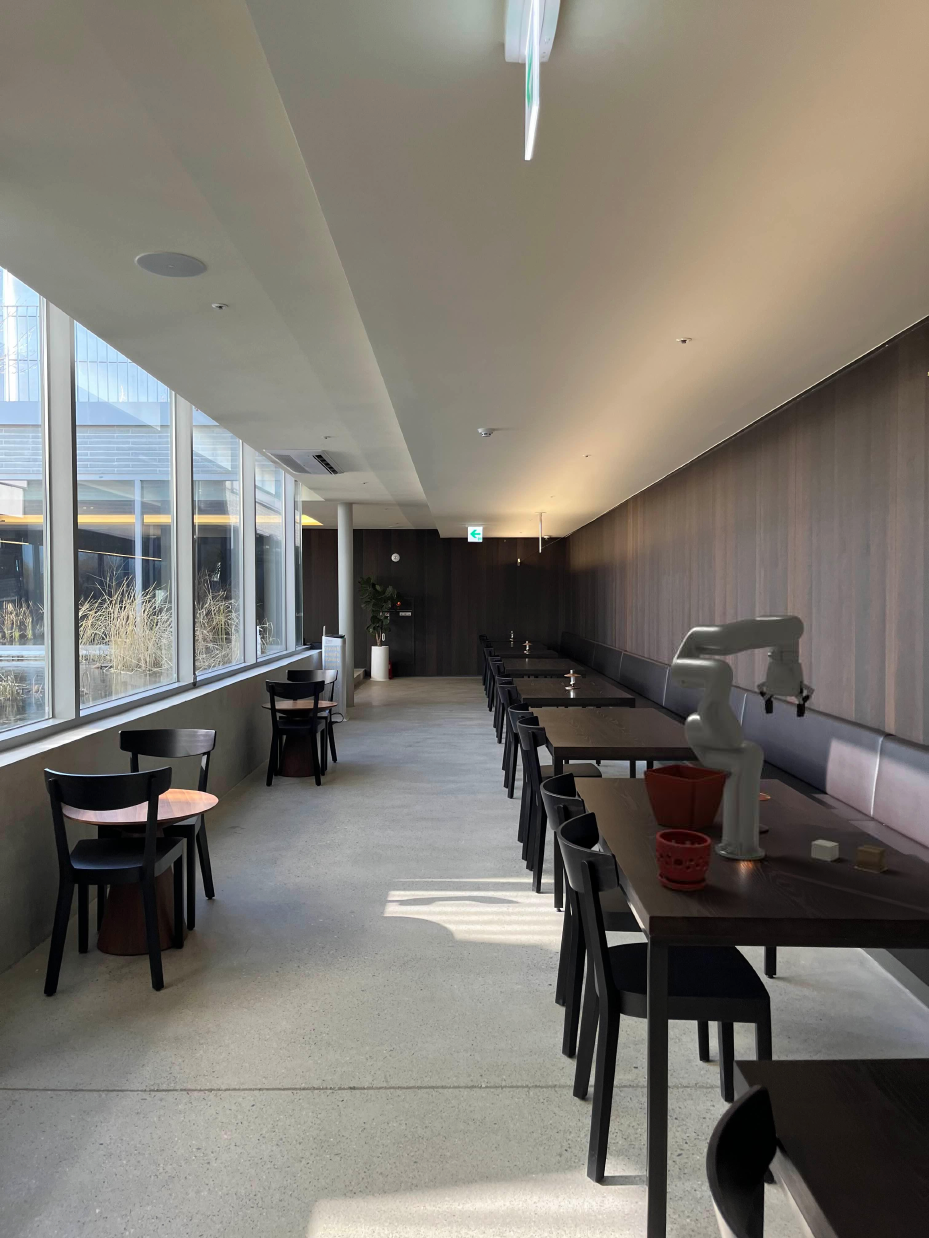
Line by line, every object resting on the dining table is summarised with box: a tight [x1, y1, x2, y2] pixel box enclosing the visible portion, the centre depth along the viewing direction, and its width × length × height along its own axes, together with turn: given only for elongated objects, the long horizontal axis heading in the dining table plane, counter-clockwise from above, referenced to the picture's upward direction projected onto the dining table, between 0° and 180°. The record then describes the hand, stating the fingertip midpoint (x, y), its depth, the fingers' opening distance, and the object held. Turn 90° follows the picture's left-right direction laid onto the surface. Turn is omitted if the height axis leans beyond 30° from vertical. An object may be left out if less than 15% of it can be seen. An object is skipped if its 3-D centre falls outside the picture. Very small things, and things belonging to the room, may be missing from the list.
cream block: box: [810, 839, 839, 862], centre depth 217 cm, size 5×5×5 cm
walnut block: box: [856, 844, 886, 873], centre depth 207 cm, size 5×5×5 cm
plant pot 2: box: [655, 829, 712, 892], centre depth 196 cm, size 13×13×12 cm
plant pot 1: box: [643, 763, 728, 832], centre depth 253 cm, size 19×19×17 cm
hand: (784, 715), depth 238 cm, fingers open, 9 cm apart
